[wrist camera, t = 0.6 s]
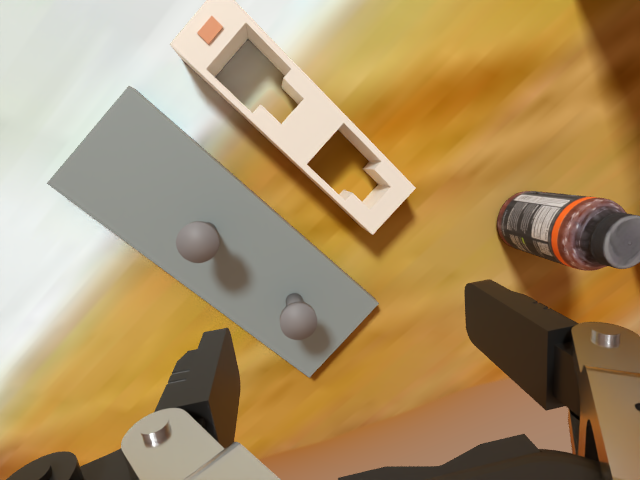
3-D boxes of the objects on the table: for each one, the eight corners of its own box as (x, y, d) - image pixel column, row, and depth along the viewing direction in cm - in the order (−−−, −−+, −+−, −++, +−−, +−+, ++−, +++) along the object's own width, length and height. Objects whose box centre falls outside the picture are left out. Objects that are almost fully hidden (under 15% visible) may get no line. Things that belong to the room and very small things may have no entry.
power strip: (224, 6, 28) (219, -16, 25) (400, 185, 34) (416, 188, 30) (180, 58, 29) (169, 43, 25) (361, 227, 34) (373, 235, 30)
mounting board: (135, 89, 29) (102, 70, 23) (374, 297, 36) (395, 324, 30) (57, 182, 29) (5, 187, 23) (307, 369, 36) (315, 409, 30)
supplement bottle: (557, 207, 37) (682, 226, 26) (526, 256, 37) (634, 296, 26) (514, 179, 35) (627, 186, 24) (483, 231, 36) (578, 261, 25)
